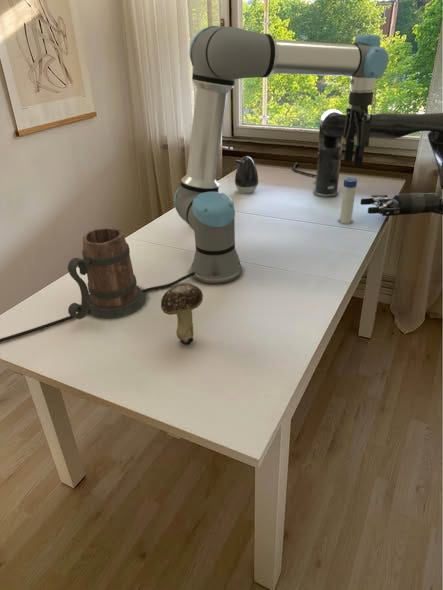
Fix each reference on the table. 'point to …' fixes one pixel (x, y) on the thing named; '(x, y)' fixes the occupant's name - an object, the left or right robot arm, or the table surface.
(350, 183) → the lid
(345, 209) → the jar
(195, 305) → the mushroom
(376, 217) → the table surface
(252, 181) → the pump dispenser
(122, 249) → the tankard
